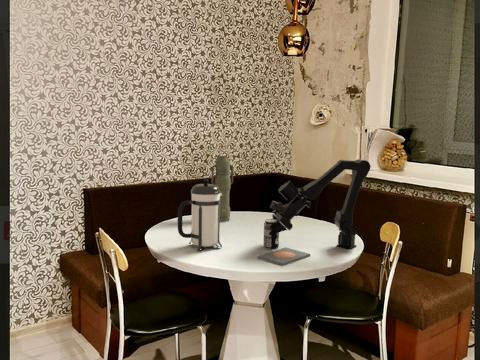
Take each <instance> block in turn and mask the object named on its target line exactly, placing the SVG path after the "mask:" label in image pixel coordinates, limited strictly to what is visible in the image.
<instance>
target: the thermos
mask: <svg viewBox="0 0 480 360" xmlns="http://www.w3.org/2000/svg"><path fill="white" fill-rule="evenodd" d="M214 171H215V173H214ZM233 183H234V167H233V165H231V163H230V159H229V156H227V155H219V156H217V157H216V160H215V164H213V165H212V166H211V184H214V185H216V186H218V187H219V189H220V190H221V193H222V196H220V221H228V222H230V221H229V220H231V218H230V217H231V207H230V191H231V185H233Z"/></svg>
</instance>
